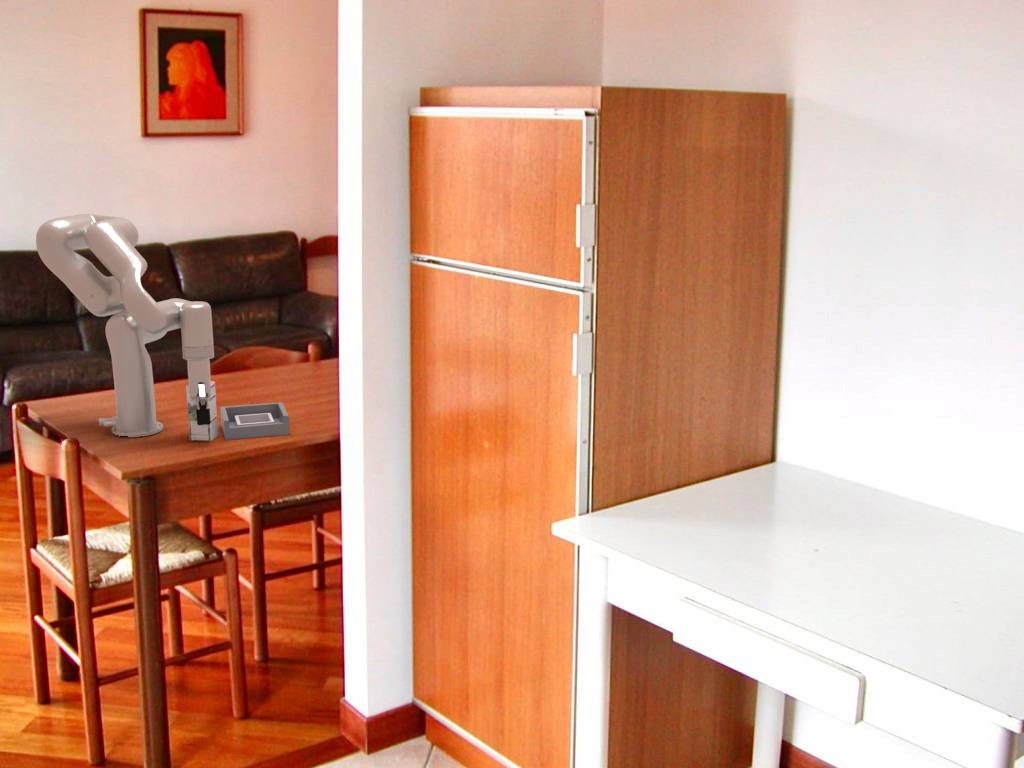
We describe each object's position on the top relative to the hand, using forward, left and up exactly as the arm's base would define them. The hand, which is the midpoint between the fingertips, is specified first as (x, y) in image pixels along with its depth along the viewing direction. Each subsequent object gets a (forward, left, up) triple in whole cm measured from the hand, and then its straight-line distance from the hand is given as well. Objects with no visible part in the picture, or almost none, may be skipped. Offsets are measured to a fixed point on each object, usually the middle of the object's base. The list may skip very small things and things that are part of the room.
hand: (203, 419), depth 297 cm
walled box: (+13, +4, -5) cm, 14 cm away
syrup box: (0, 0, -5) cm, 5 cm away
